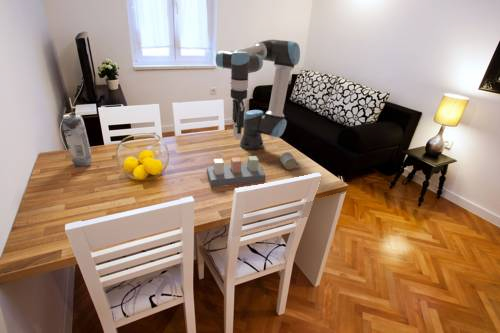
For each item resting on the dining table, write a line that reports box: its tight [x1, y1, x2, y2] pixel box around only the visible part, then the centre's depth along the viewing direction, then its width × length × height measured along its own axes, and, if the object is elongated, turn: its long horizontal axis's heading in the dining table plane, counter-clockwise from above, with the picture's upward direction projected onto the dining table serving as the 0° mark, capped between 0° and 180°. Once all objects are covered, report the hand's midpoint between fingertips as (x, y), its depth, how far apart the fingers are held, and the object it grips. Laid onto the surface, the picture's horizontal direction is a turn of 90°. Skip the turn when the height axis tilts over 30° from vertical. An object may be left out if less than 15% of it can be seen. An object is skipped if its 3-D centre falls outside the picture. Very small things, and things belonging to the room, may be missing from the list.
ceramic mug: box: [279, 152, 300, 171], centre depth 158 cm, size 11×8×8 cm
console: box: [206, 162, 266, 188], centre depth 145 cm, size 14×28×4 cm, turn 106°
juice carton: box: [61, 113, 92, 168], centre depth 143 cm, size 9×10×27 cm
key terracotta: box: [230, 156, 242, 174], centre depth 142 cm, size 4×4×7 cm
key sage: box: [247, 155, 259, 172], centre depth 145 cm, size 4×4×7 cm
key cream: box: [213, 158, 225, 175], centre depth 140 cm, size 4×4×7 cm
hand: (237, 137), depth 135 cm, fingers open, 4 cm apart
